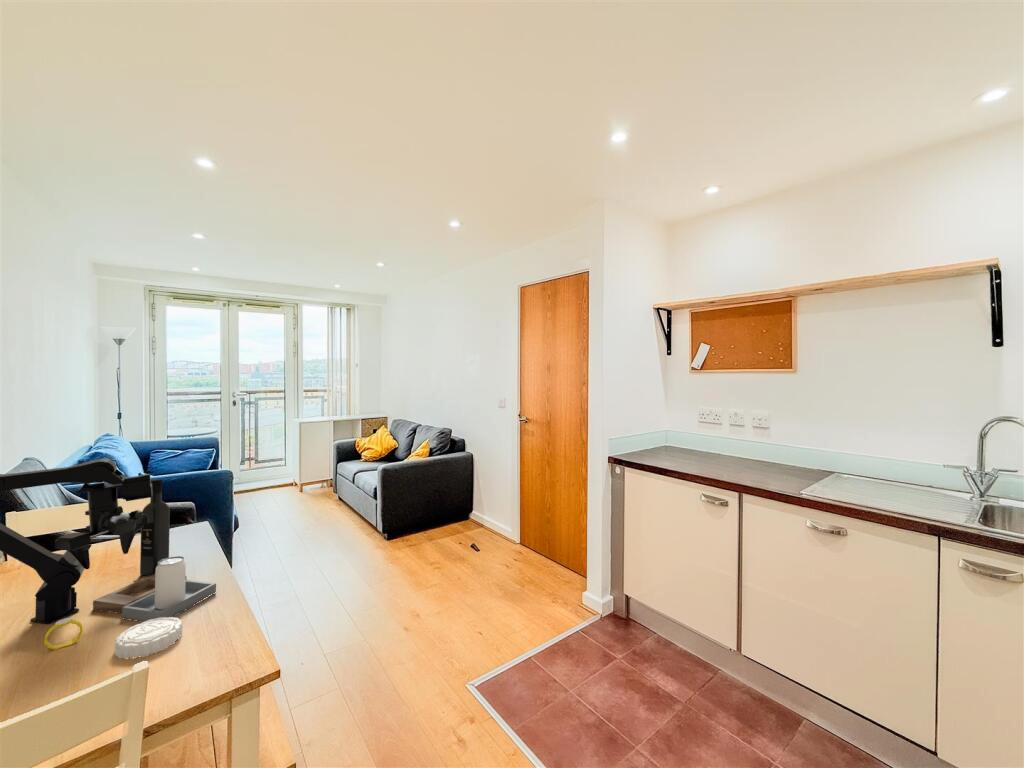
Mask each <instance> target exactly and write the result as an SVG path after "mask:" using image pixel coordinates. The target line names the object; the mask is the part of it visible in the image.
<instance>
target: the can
mask: <svg viewBox="0 0 1024 768" xmlns="http://www.w3.org/2000/svg"><path fill="white" fill-rule="evenodd" d="M184 559H185V557H184V556H181V555H180V556H178V555H177V556H169V558H166V559H163V560H161V561H159V562H158V566H157V567H156V571H155V608H156V609H159V610H163V609H165V608H167V607H169V606H171V605H173V604H175V603H177V602H179V601H181V600H182V599H184V598H185V581H186V580H187V575H186V574H187V573H186V572H187V571H186V570H187V569H186V567H187V565H186V564H187V563H186V561H185V560H184Z"/></svg>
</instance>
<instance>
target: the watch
mask: <svg viewBox="0 0 1024 768" xmlns="http://www.w3.org/2000/svg"><path fill="white" fill-rule="evenodd" d="M54 623H55V624H54V625H53V626H51V627H50V628H49V629H48V631H47V632H46V634H45V635H44V641H43V642H44V643H43V644H44V645H45V646H46V648H47V649H49V650H52V651H56V650H58V649H63V648H65V647H69V646H73V645H74V644H75V643H76V642H77V641H79V639H80V638H81V636H82V634H83V631H84V630H83V624H82V623H81V622H80V620H77V619H73V617H64V618H62V619H60V620H57V621H55V622H54ZM70 624H71V625H72V624H73V625H76V626H78V628H79V632H78V634H77V635H76V637H75V638H74V639H73V640H70V641H68V642H65V643H61V644H57V645H55V644H50V642H49V641H48V637H49V636H50V635H51V633H52V632H53V631H54V630H55V629H58V628H62V627H66V626H69V625H70Z"/></svg>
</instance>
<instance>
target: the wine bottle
mask: <svg viewBox="0 0 1024 768" xmlns="http://www.w3.org/2000/svg"><path fill="white" fill-rule="evenodd" d="M151 483H152V492H153V495H152V497H151V498H150V499H149V500H150V502H149V503H148V504H146V505H145V506H144V508H143V509H142V510H141V511H142V514H145V515H147V517H148V522H149V523H148V524H145V525H142V526H144V527H143V528H141V529H140V552H139V553H140V555H139V557H140V560H139V561H140V563H139V564H140V565H139V574H140V576H143V575H146V576H147V577H149V576H151V575H153V574H155V571H156V567H157V566H158V562H159V561H161V560H163V559H166V558H169V557H170V527H171V525H170V522H171V521H170V519H171V515H170V514H171V509H170V506H169V505H168V504H167V503H166V502H164V501H163V498H162V490H163V488H162V487H163V478H154V479H151ZM146 576H145V577H146Z"/></svg>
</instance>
